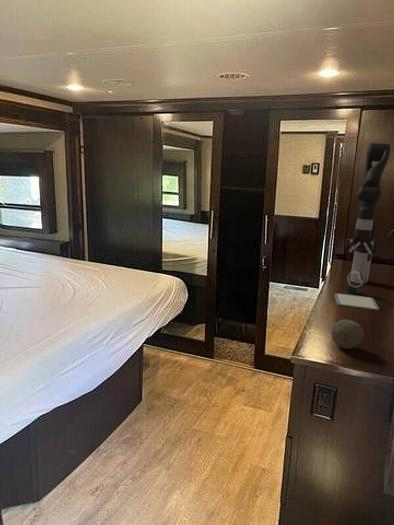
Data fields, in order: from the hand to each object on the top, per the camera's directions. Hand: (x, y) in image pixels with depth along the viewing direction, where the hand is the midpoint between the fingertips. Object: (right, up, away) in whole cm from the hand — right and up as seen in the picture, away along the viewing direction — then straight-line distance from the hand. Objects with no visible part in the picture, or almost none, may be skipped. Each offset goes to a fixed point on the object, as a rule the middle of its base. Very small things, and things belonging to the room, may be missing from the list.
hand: (358, 260), depth 198 cm
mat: (-6, -20, -11) cm, 23 cm away
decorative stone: (-30, -31, -61) cm, 75 cm away
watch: (-1, -17, +4) cm, 17 cm away
